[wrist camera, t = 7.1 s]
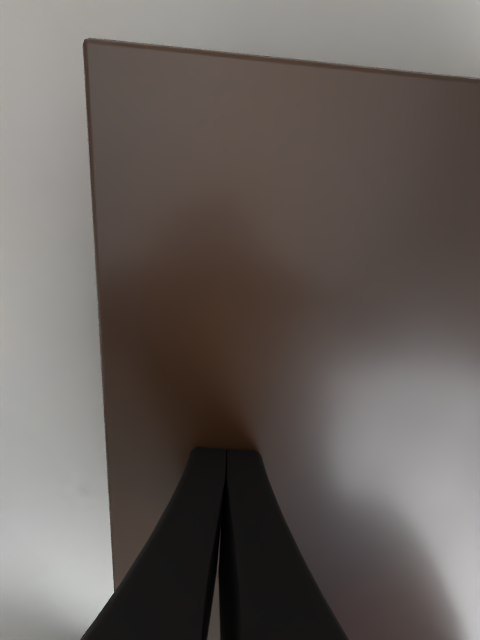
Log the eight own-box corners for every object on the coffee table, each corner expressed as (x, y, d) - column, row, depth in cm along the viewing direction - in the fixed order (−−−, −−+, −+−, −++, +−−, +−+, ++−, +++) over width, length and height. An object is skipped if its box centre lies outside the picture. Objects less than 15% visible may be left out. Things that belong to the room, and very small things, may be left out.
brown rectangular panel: (124, 661, 12) (119, 693, 12) (96, 47, 6) (80, 35, 6) (447, 660, 13) (460, 691, 12) (706, 109, 7) (763, 106, 6)
